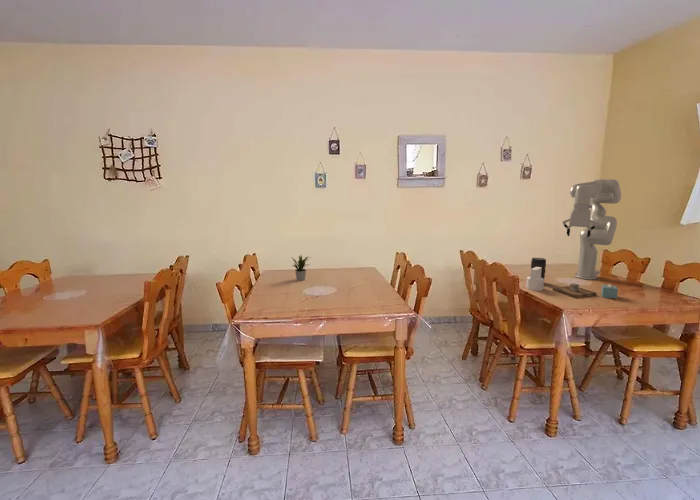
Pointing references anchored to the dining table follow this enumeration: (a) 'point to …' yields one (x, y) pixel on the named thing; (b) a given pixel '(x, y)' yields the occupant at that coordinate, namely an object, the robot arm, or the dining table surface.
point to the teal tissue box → (609, 291)
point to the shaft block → (574, 291)
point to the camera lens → (539, 265)
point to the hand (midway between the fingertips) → (578, 236)
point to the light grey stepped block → (535, 279)
